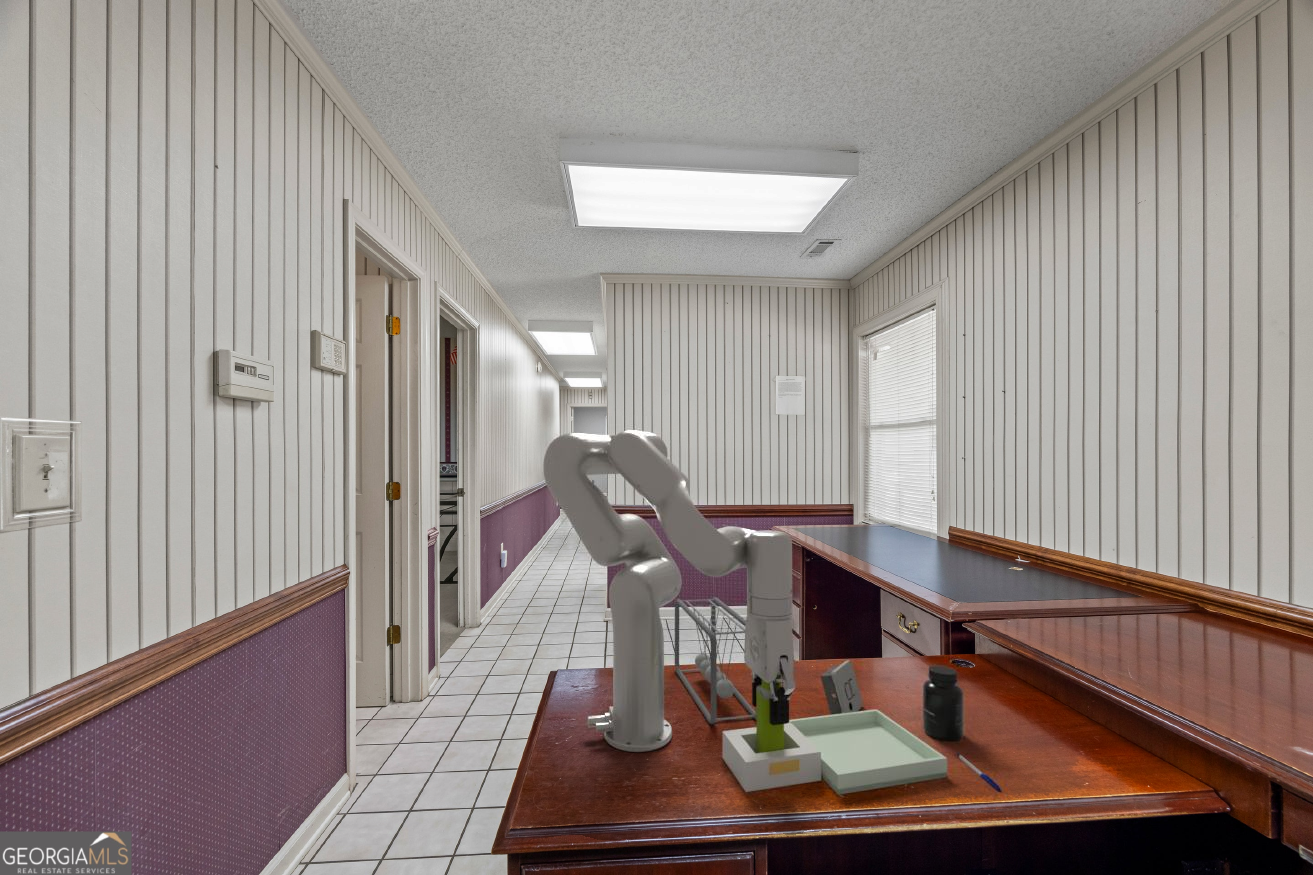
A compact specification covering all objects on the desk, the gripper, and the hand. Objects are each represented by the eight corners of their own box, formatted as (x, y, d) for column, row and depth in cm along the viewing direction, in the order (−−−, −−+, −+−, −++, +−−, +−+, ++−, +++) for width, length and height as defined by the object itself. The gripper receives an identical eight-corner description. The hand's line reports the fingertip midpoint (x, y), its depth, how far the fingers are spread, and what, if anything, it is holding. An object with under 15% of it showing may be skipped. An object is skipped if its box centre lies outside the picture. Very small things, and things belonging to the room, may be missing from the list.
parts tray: (838, 794, 84) (837, 774, 84) (783, 737, 101) (783, 720, 101) (947, 776, 89) (946, 757, 89) (876, 724, 106) (876, 709, 106)
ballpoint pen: (1003, 792, 85) (1003, 786, 85) (997, 792, 85) (997, 786, 85) (959, 756, 96) (958, 750, 96) (954, 756, 95) (954, 750, 95)
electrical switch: (848, 723, 107) (843, 673, 108) (822, 717, 110) (818, 670, 111) (864, 706, 114) (859, 660, 115) (839, 702, 118) (835, 657, 119)
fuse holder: (746, 792, 84) (746, 762, 84) (722, 757, 94) (722, 731, 94) (822, 781, 87) (821, 752, 88) (791, 748, 97) (790, 722, 98)
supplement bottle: (918, 734, 103) (917, 669, 103) (929, 721, 108) (928, 659, 108) (958, 747, 98) (957, 679, 99) (968, 733, 103) (967, 668, 104)
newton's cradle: (674, 670, 134) (674, 596, 135) (714, 666, 136) (714, 594, 137) (711, 729, 105) (711, 634, 105) (762, 723, 107) (762, 631, 107)
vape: (763, 779, 88) (763, 653, 89) (754, 759, 94) (754, 641, 95) (786, 778, 88) (785, 652, 89) (776, 758, 94) (775, 640, 95)
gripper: (729, 594, 100) (729, 694, 99) (772, 621, 83) (772, 742, 82) (767, 591, 101) (767, 690, 101) (816, 617, 85) (817, 736, 84)
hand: (770, 713), depth 91 cm, fingers closed on vape, 6 cm apart
